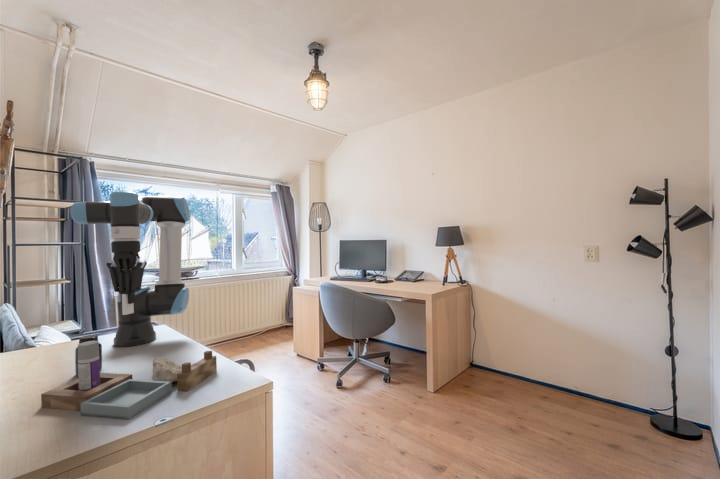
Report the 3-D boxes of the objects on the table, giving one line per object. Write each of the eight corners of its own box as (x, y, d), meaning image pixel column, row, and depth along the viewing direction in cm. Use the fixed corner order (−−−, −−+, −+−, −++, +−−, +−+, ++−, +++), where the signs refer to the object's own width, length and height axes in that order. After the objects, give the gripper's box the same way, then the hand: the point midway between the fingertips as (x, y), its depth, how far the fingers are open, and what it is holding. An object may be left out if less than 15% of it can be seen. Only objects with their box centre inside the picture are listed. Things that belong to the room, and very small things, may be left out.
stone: (179, 384, 106) (172, 354, 109) (191, 375, 98) (183, 343, 101) (152, 393, 100) (146, 361, 103) (163, 384, 93) (156, 350, 96)
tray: (129, 389, 95) (129, 379, 95) (171, 392, 93) (171, 381, 93) (80, 415, 81) (80, 403, 81) (128, 419, 79) (128, 407, 79)
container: (97, 390, 95) (95, 339, 95) (103, 394, 92) (101, 342, 92) (76, 397, 91) (74, 343, 91) (81, 401, 88) (80, 346, 88)
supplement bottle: (87, 377, 104) (85, 340, 104) (70, 376, 106) (68, 339, 106) (107, 368, 111) (106, 333, 111) (91, 367, 112) (90, 333, 112)
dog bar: (208, 370, 107) (207, 349, 107) (216, 371, 107) (216, 349, 107) (177, 390, 93) (176, 366, 93) (186, 391, 93) (185, 366, 93)
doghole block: (93, 383, 100) (93, 372, 100) (132, 385, 97) (132, 374, 97) (41, 407, 86) (41, 394, 86) (85, 410, 83) (85, 397, 83)
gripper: (97, 241, 101) (99, 316, 102) (133, 240, 99) (135, 317, 99) (119, 240, 109) (121, 310, 109) (153, 239, 107) (155, 311, 107)
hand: (128, 313), depth 104 cm, fingers closed
